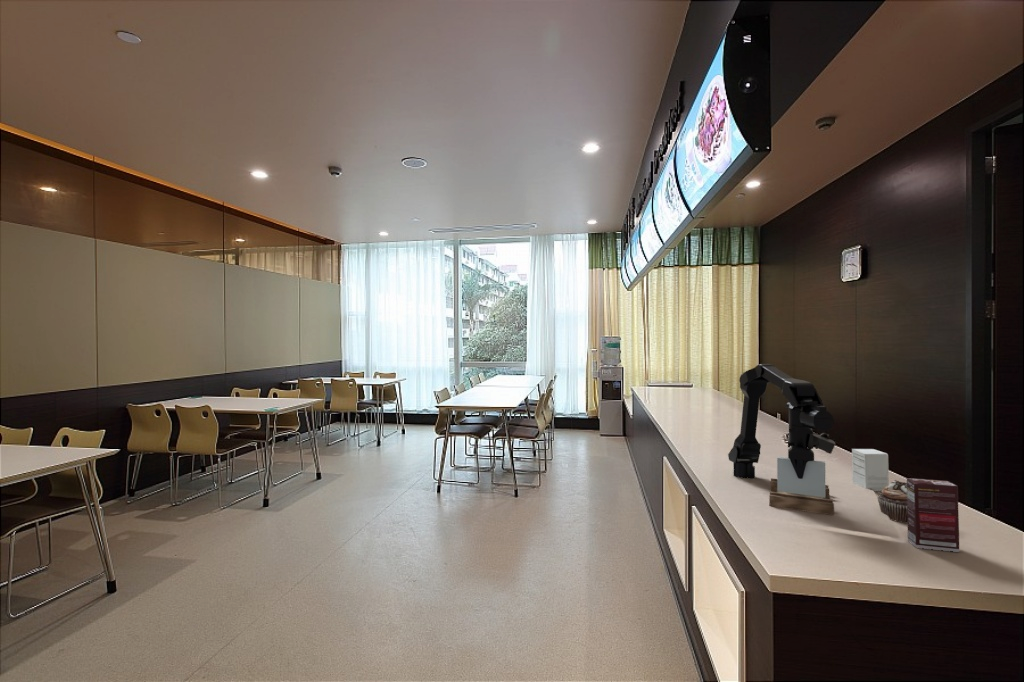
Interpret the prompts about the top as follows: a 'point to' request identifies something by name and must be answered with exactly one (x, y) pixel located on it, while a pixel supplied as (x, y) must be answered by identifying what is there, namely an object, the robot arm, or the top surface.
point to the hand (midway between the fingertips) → (800, 477)
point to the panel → (808, 485)
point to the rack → (801, 501)
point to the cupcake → (894, 501)
